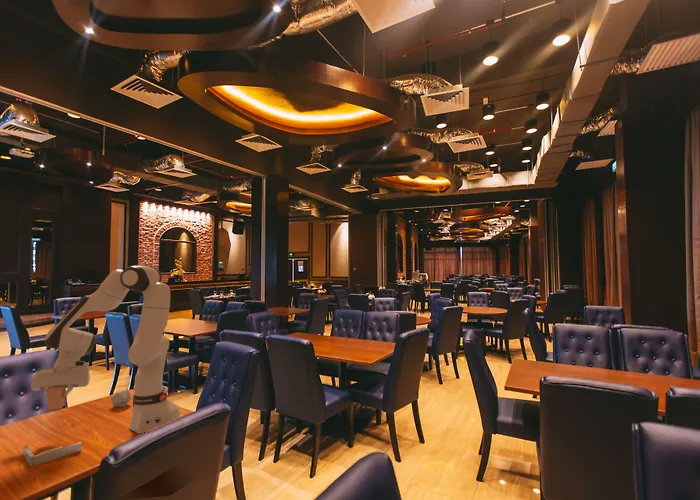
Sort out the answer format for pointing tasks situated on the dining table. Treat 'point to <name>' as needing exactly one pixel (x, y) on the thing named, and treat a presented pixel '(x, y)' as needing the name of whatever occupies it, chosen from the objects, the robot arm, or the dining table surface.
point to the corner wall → (49, 453)
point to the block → (56, 398)
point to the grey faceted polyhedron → (120, 398)
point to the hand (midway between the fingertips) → (55, 397)
